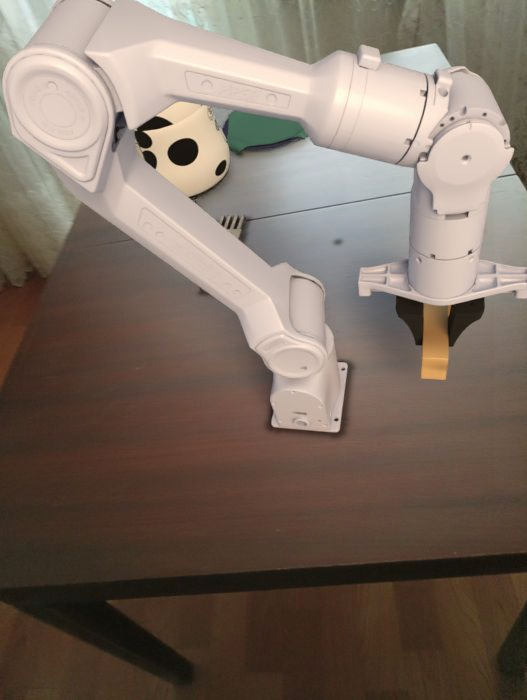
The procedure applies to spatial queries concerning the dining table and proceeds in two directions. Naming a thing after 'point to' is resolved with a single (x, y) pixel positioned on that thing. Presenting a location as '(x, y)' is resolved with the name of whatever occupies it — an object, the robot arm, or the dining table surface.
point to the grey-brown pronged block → (232, 228)
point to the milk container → (185, 147)
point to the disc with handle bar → (435, 342)
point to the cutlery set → (259, 131)
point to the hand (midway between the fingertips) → (434, 338)
